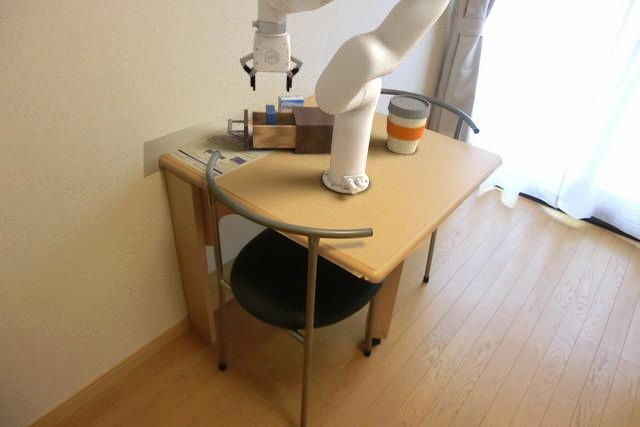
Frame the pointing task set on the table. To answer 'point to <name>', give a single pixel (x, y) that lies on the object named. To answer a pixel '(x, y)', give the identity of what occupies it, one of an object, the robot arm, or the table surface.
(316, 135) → the cabinet
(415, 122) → the reusable coffee cup
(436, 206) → the table surface
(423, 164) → the table surface
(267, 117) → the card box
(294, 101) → the medicine box
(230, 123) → the drawer
